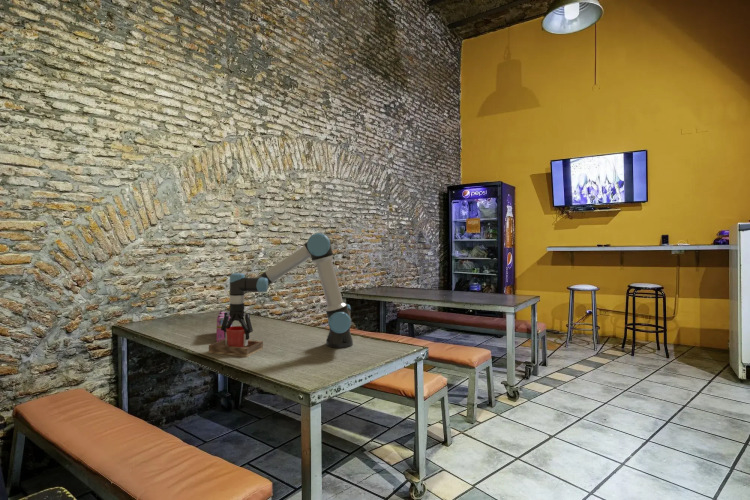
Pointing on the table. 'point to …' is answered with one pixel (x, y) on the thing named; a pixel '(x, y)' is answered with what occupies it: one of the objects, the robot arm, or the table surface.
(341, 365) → the table surface
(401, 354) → the table surface
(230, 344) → the flower pot
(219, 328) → the gum box
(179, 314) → the table surface
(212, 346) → the wooden tray
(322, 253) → the robot arm
